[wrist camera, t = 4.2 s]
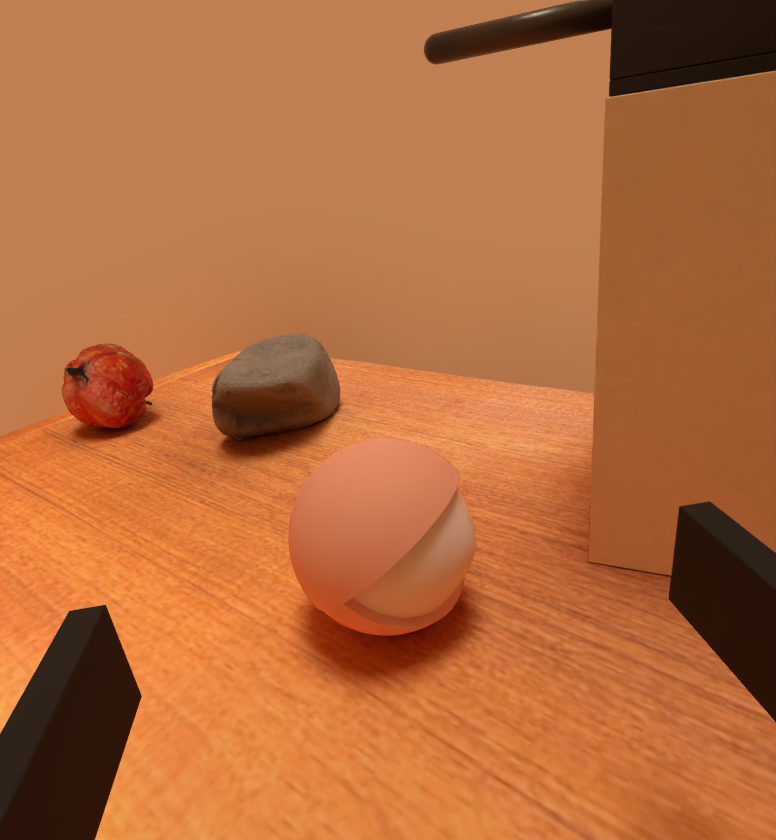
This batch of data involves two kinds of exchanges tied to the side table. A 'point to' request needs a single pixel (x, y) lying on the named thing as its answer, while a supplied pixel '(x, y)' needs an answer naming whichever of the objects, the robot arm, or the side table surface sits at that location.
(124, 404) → the pomegranate
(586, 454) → the side table surface
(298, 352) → the stone
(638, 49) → the pan
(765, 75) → the stand
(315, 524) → the toy ball
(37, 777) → the robot arm
